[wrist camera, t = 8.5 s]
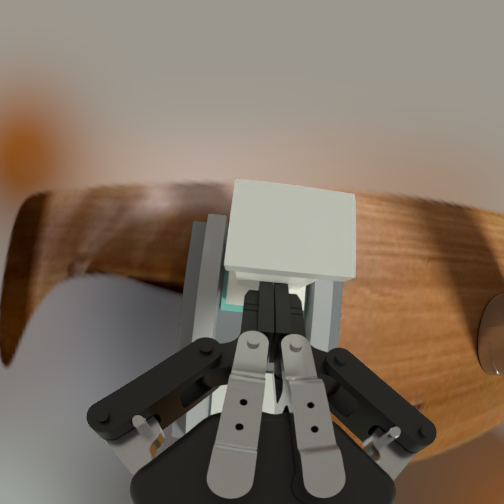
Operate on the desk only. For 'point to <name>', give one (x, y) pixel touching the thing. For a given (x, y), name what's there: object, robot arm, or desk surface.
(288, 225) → the switch tab
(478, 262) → the desk surface
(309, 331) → the switch panel
